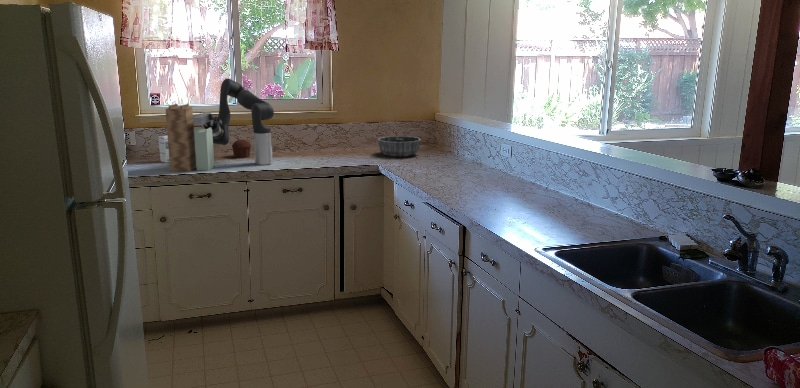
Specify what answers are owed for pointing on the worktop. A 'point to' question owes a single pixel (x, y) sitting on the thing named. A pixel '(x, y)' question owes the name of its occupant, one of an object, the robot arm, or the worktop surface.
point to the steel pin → (201, 119)
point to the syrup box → (164, 148)
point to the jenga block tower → (181, 137)
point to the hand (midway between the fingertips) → (204, 115)
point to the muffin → (241, 148)
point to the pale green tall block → (204, 149)
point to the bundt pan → (399, 145)
